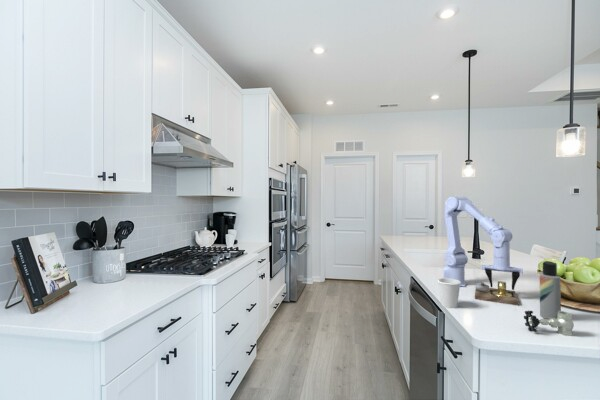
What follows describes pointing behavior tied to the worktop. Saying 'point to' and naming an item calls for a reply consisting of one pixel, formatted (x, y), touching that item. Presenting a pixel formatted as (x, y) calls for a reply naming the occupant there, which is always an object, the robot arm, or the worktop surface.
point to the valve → (552, 322)
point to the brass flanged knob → (501, 290)
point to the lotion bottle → (550, 291)
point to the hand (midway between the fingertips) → (502, 288)
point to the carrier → (485, 294)
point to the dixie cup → (449, 292)
